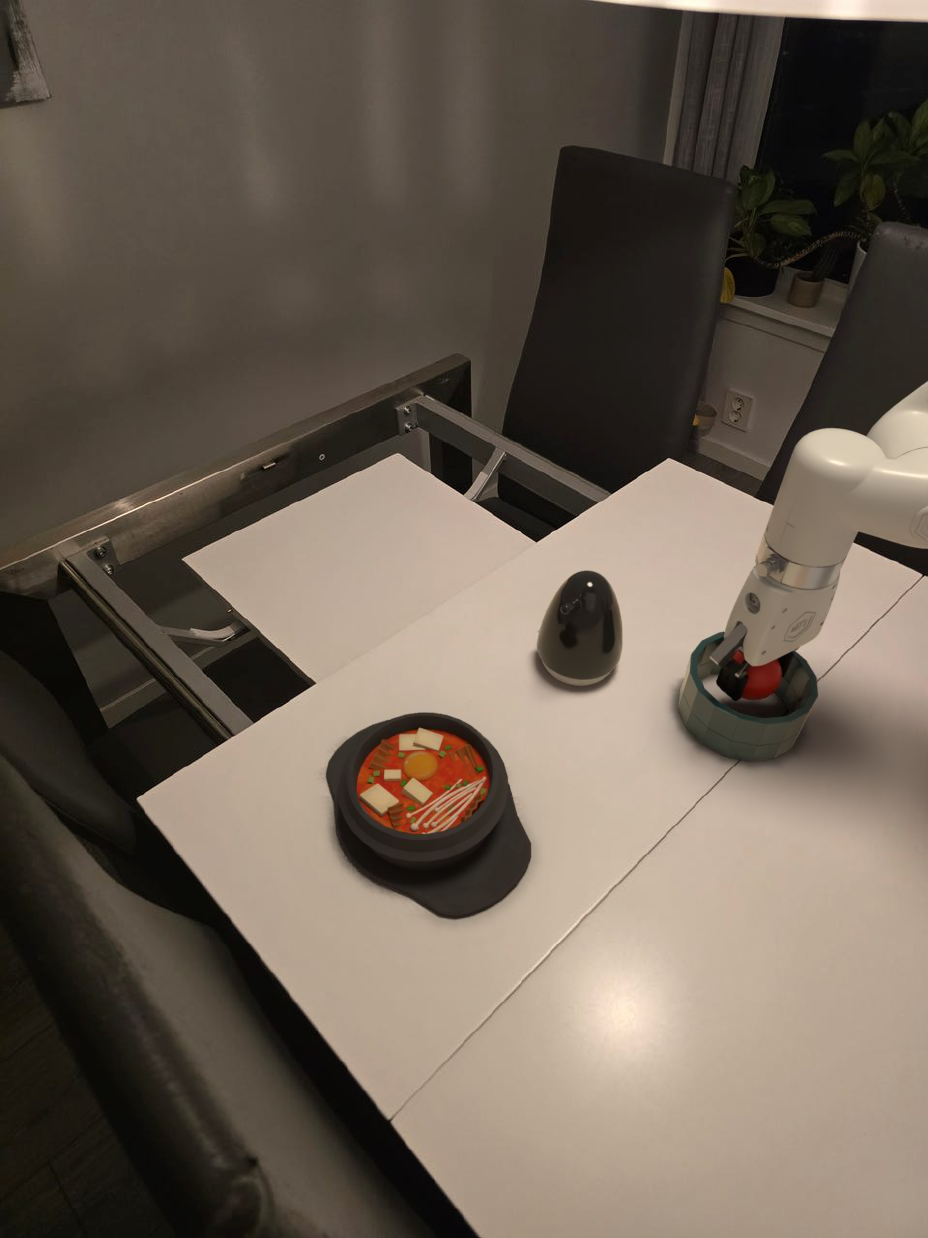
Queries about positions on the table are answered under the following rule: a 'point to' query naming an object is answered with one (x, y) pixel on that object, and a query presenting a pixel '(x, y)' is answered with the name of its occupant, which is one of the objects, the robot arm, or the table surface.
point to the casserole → (429, 811)
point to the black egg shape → (581, 630)
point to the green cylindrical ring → (738, 730)
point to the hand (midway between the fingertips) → (750, 679)
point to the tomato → (761, 679)
